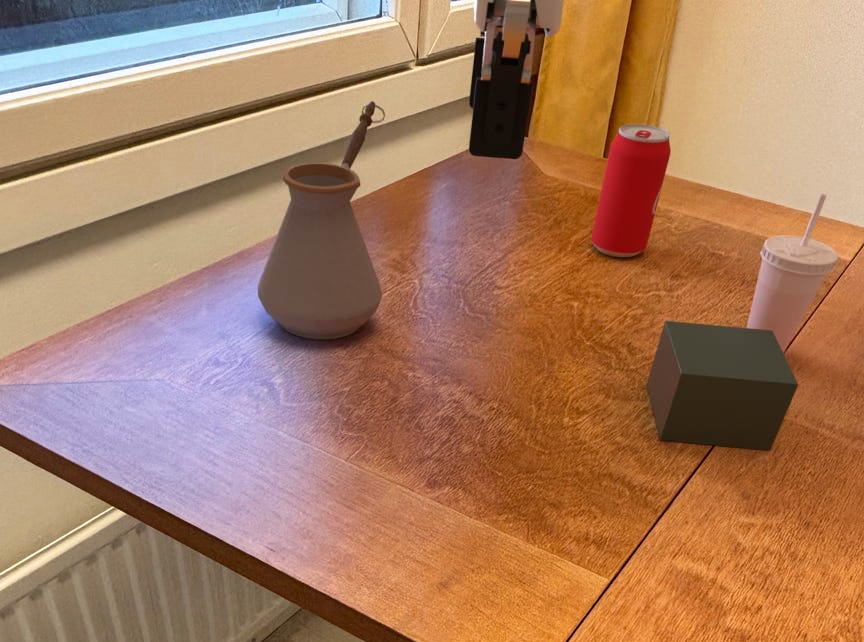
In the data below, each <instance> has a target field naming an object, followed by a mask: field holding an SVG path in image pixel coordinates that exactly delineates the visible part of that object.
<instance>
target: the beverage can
mask: <svg viewBox="0 0 864 642" xmlns="http://www.w3.org/2000/svg"><path fill="white" fill-rule="evenodd" d="M670 136H671V135H670V133H669V132H668V131H667V130H666V129H665V128H661V127H658V126H655V125H649V124H642V123H630V124H624V125H622V126H620V127H619V128H618V132H617V134H616V136H615V137H614V138H613V140H612V142H611V144H610V146H609V153H608V157H607V161H606V167H605V170H604V175H603V180H602V186H601V190H600V194H599V200H598V203H597V209H596V213H595V218H594V223H593V227H592V231H591V237H590V240H591V243H592V245H593V246H594V247H595V248H596V249H597V250H598V251H599V252H600V253H602V254H604V255H607V256H610V257H615V258H631V257H632V258H633V257H634V256H637V255H638V254H640V253H641V254H642V252H644V251H645V250H646V249H647V247H648V242H649V238H650V235H651V231H652V228H653V223H654V220H655V215H656V211H657V208H658V204H659V200H660V196H661V192H662V188H663V184H664V180H665V177H666V173H667V168H668V164H669V161H670V157H671V151H672V150H671V149H672V148H671V143H670Z"/></svg>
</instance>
